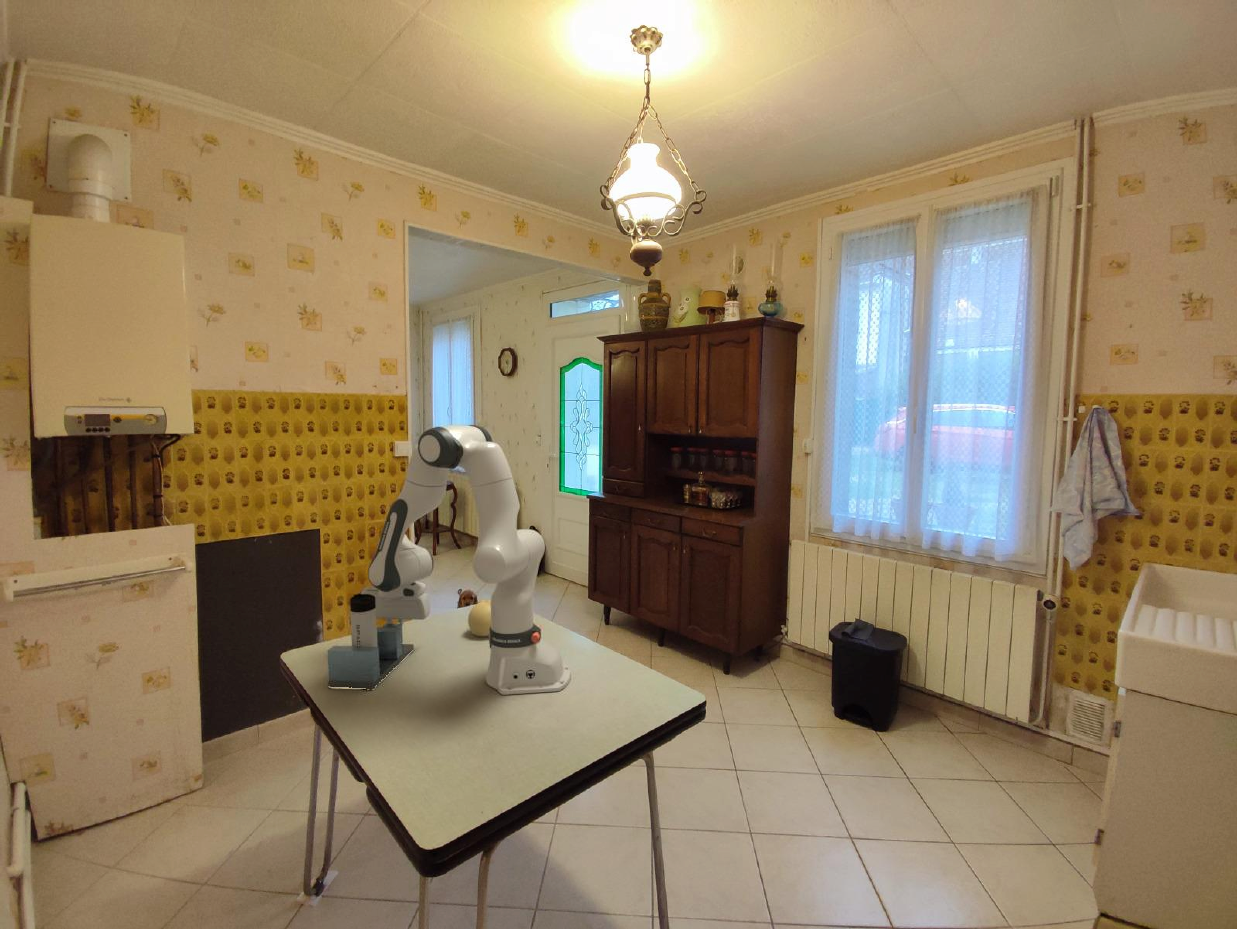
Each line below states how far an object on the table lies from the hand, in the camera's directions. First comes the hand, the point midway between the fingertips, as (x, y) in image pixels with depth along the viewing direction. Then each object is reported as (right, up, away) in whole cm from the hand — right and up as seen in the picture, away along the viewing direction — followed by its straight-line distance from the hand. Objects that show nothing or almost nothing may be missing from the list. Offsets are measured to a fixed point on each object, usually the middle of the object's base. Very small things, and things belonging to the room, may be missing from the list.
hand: (396, 632), depth 168 cm
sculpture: (+25, -4, +13) cm, 28 cm away
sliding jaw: (-1, -3, -6) cm, 7 cm away
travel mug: (-1, -5, -17) cm, 18 cm away
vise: (-1, -6, -13) cm, 14 cm away
